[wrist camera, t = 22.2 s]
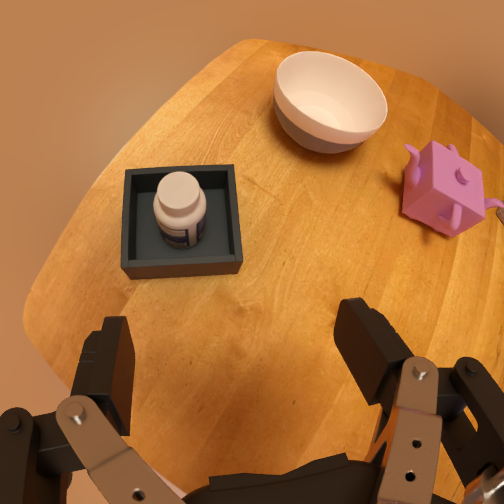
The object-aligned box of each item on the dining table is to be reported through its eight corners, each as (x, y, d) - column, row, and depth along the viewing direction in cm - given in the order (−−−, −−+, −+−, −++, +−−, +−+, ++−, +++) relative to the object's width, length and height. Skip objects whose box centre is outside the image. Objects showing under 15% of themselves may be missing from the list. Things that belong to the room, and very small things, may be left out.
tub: (130, 279, 36) (120, 267, 31) (132, 190, 40) (125, 169, 35) (237, 273, 38) (243, 261, 33) (229, 186, 42) (233, 164, 37)
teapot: (432, 161, 50) (467, 128, 40) (468, 228, 47) (510, 203, 37) (372, 179, 46) (408, 138, 36) (413, 259, 43) (461, 232, 33)
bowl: (376, 138, 49) (404, 102, 40) (324, 192, 44) (352, 154, 35) (304, 80, 51) (320, 40, 42) (241, 122, 45) (250, 75, 36)
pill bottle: (190, 200, 39) (189, 155, 30) (213, 235, 39) (218, 197, 29) (152, 222, 38) (139, 181, 29) (174, 258, 37) (166, 226, 28)
